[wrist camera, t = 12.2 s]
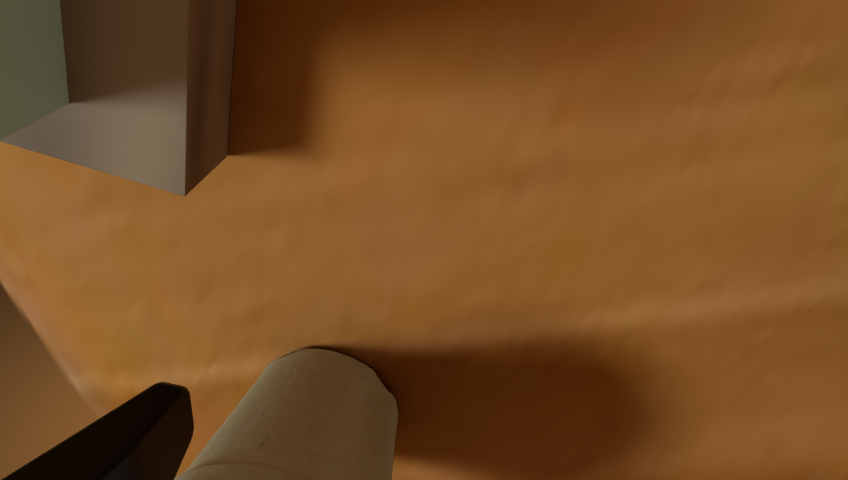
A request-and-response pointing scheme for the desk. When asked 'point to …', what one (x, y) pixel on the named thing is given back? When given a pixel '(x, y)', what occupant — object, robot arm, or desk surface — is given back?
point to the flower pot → (306, 425)
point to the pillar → (30, 63)
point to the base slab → (142, 90)
